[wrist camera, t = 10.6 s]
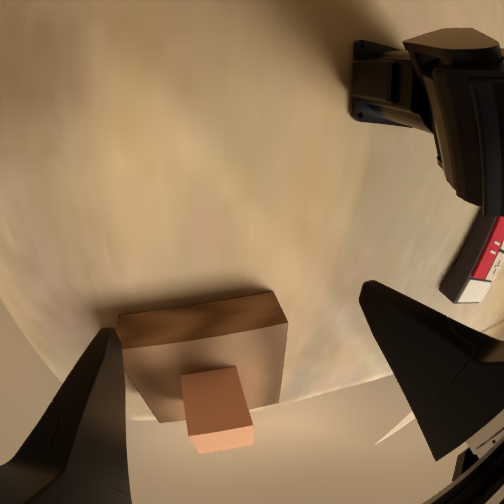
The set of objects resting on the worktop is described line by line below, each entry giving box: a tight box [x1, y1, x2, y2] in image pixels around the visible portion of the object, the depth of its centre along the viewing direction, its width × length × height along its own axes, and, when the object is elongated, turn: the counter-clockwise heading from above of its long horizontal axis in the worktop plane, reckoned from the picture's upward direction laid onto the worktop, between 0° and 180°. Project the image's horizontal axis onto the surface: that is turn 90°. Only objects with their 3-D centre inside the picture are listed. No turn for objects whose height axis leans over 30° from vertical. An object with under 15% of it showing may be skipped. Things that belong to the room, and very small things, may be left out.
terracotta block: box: [180, 366, 254, 454], centre depth 22 cm, size 5×5×6 cm
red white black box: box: [439, 207, 504, 304], centre depth 32 cm, size 11×4×15 cm
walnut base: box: [116, 291, 288, 423], centre depth 26 cm, size 14×14×4 cm
